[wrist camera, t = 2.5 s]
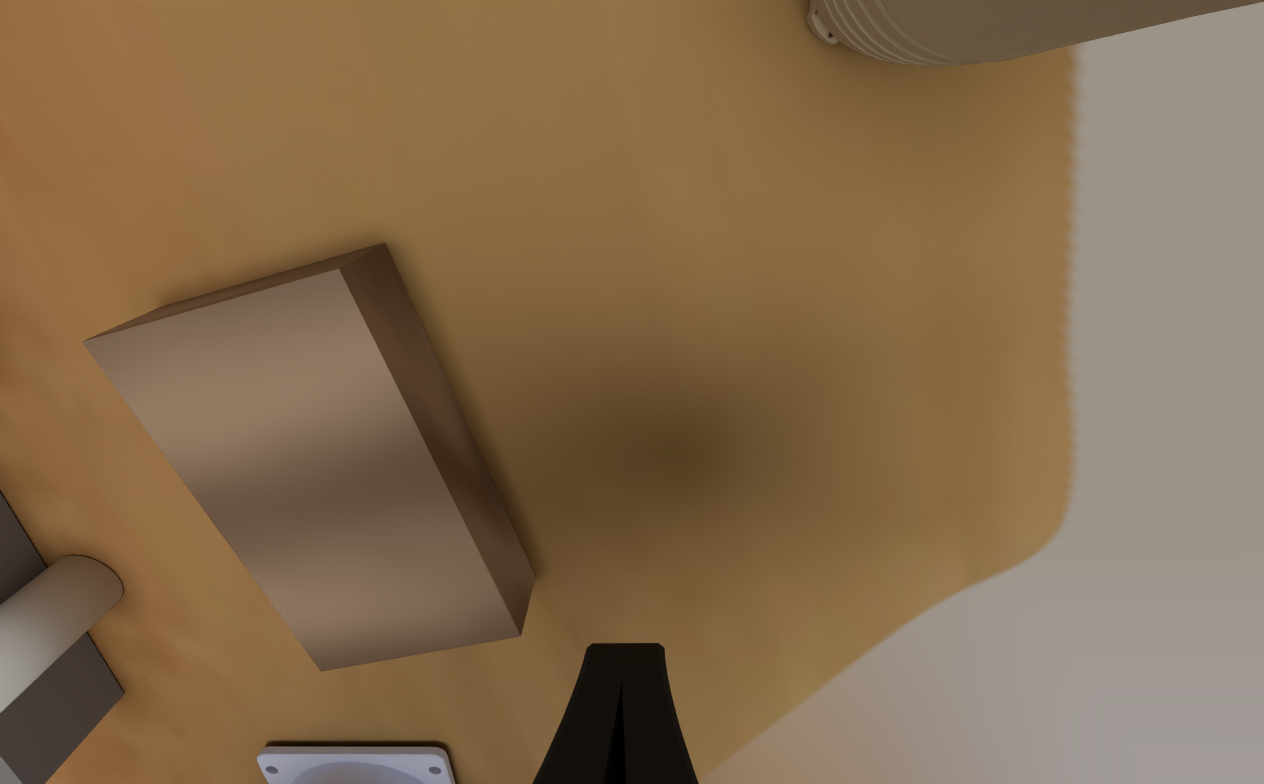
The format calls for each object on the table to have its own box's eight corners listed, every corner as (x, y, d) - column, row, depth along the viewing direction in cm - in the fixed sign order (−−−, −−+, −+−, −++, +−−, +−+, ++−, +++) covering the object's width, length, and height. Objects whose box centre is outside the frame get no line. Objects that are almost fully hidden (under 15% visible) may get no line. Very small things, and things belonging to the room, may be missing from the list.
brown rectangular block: (537, 567, 21) (520, 636, 19) (360, 601, 22) (320, 671, 20) (390, 239, 16) (338, 268, 14) (170, 302, 17) (81, 341, 15)
